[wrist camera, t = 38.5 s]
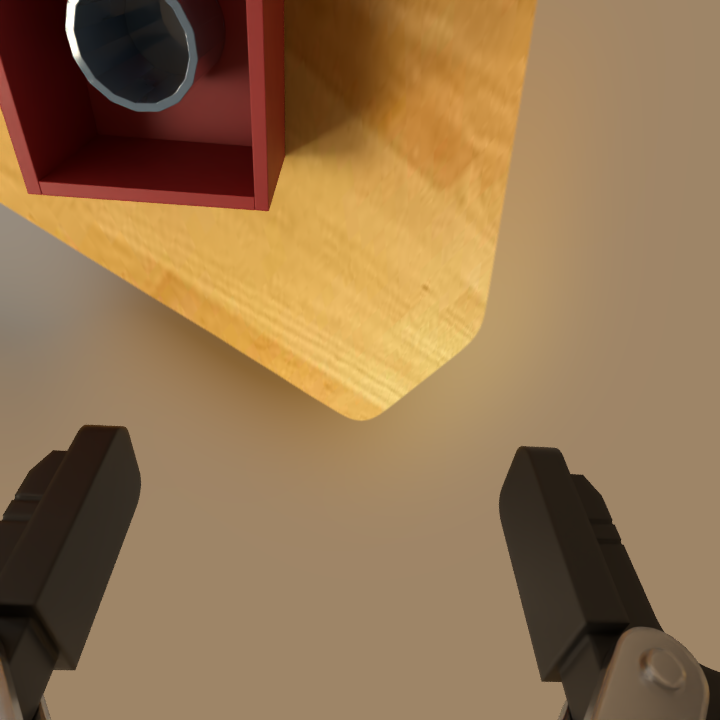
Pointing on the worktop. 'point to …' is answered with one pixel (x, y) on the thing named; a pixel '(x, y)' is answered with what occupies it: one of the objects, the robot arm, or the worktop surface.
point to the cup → (145, 47)
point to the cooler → (146, 116)
